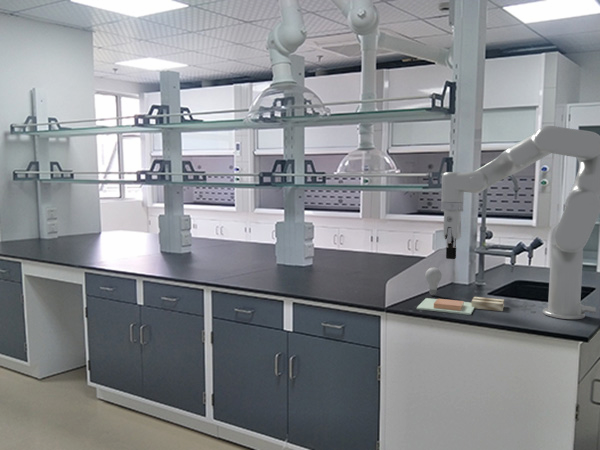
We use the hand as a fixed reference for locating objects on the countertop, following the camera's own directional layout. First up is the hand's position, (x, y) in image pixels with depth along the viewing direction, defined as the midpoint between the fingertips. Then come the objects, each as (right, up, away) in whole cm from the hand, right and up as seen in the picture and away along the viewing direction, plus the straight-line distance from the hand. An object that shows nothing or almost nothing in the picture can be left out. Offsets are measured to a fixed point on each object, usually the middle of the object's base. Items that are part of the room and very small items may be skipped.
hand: (451, 258), depth 191 cm
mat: (-2, -17, -2) cm, 17 cm away
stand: (+12, -17, -2) cm, 21 cm away
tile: (-6, -16, -2) cm, 17 cm away
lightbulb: (-3, -16, +16) cm, 22 cm away
